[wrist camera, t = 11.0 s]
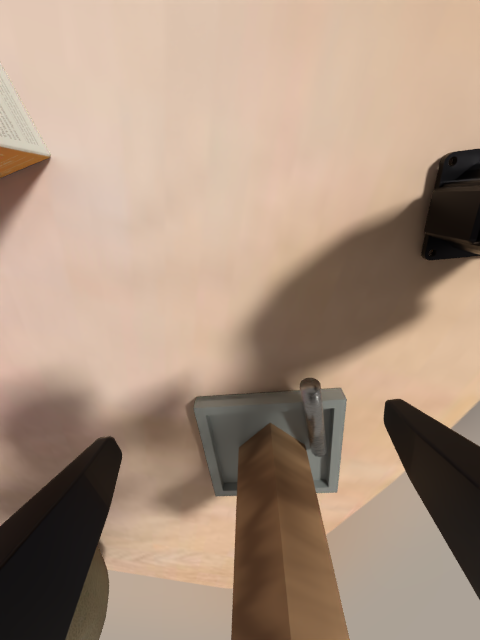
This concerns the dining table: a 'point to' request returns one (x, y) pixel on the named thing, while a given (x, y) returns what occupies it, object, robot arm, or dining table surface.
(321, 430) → the rod
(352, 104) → the dining table surface
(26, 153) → the small box
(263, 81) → the dining table surface
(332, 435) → the tray
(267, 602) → the walnut block
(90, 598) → the cantaloupe
